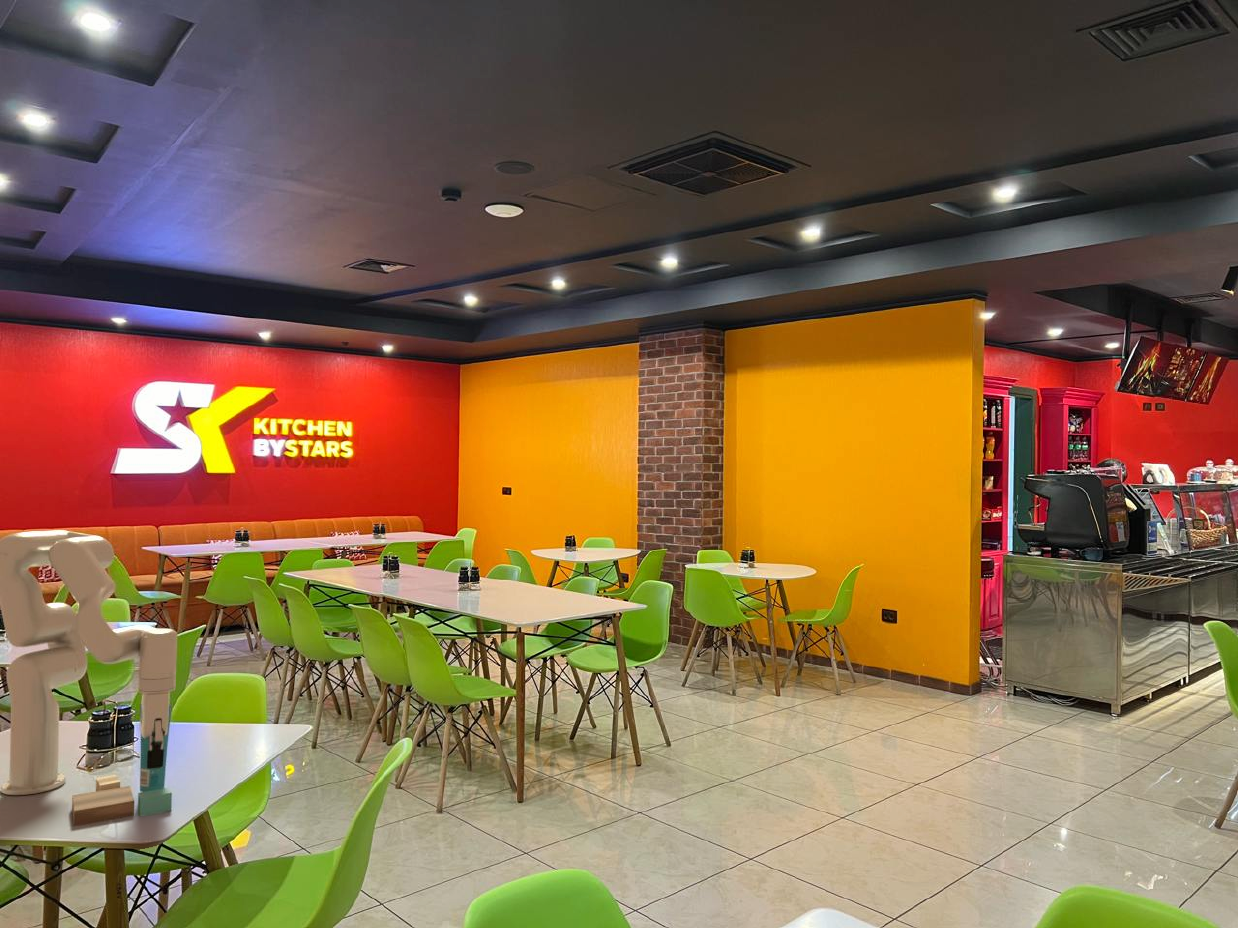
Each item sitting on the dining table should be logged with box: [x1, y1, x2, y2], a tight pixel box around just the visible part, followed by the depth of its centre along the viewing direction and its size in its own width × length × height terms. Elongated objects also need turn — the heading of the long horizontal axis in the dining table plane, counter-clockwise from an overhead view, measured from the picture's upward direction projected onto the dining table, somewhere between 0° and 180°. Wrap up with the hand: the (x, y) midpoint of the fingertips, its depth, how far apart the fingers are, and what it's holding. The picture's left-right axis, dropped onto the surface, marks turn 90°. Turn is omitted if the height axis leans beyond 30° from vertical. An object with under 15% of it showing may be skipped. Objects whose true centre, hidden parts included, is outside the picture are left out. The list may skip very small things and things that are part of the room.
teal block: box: [137, 787, 173, 817], centre depth 190 cm, size 6×4×4 cm, turn 126°
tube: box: [139, 703, 174, 792], centre depth 197 cm, size 7×5×19 cm, turn 96°
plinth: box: [71, 785, 135, 826], centre depth 189 cm, size 11×11×3 cm
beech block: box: [95, 774, 121, 792], centre depth 198 cm, size 6×4×4 cm, turn 39°
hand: (153, 763), depth 197 cm, fingers closed on tube, 4 cm apart
